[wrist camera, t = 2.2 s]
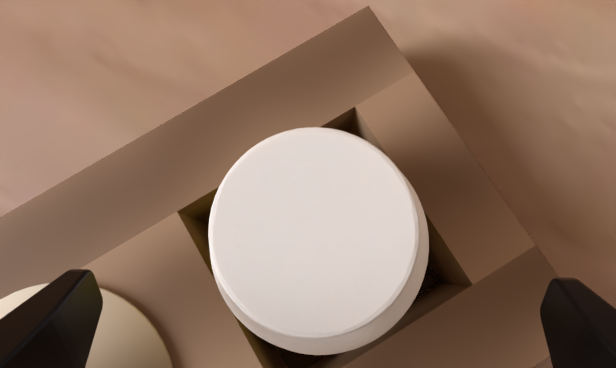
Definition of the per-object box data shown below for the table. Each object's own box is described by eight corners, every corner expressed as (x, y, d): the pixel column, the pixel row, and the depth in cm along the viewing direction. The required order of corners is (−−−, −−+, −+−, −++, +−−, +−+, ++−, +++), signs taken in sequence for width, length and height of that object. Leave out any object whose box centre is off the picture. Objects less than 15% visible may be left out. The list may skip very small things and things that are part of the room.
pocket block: (534, 316, 18) (599, 328, 13) (50, 627, 16) (-46, 749, 12) (360, 59, 20) (369, 0, 16) (-79, 315, 19) (-198, 326, 14)
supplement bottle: (295, 160, 19) (263, 43, 10) (417, 226, 18) (515, 170, 9) (226, 281, 18) (115, 286, 9) (351, 354, 18) (380, 446, 8)
